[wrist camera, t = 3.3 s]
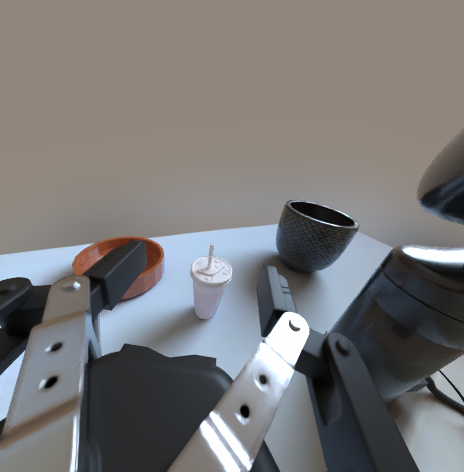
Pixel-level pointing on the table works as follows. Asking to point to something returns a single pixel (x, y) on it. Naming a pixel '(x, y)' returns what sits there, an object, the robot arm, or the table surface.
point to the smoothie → (209, 283)
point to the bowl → (100, 249)
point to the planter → (312, 235)
